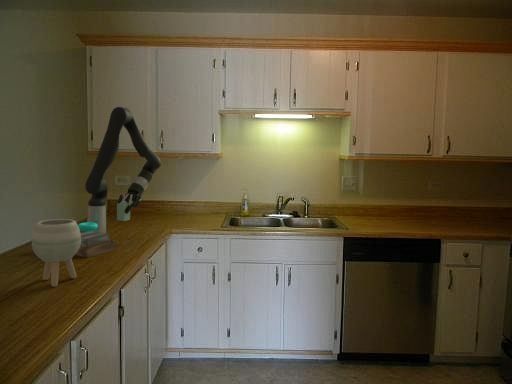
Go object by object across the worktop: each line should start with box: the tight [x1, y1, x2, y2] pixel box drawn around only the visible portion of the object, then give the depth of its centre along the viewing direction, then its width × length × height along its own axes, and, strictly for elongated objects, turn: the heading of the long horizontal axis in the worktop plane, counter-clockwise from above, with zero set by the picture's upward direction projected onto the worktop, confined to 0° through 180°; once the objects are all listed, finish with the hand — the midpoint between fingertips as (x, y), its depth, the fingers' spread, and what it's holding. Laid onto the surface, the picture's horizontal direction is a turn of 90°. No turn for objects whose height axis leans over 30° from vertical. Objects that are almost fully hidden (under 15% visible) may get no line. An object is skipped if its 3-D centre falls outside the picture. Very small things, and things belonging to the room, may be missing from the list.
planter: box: [31, 218, 81, 288], centre depth 142 cm, size 16×16×22 cm
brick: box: [116, 203, 131, 222], centre depth 197 cm, size 4×4×8 cm
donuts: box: [77, 221, 98, 232], centre depth 205 cm, size 10×10×10 cm
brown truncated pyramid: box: [74, 231, 116, 258], centre depth 187 cm, size 17×17×8 cm
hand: (121, 212), depth 196 cm, fingers closed on brick, 4 cm apart
